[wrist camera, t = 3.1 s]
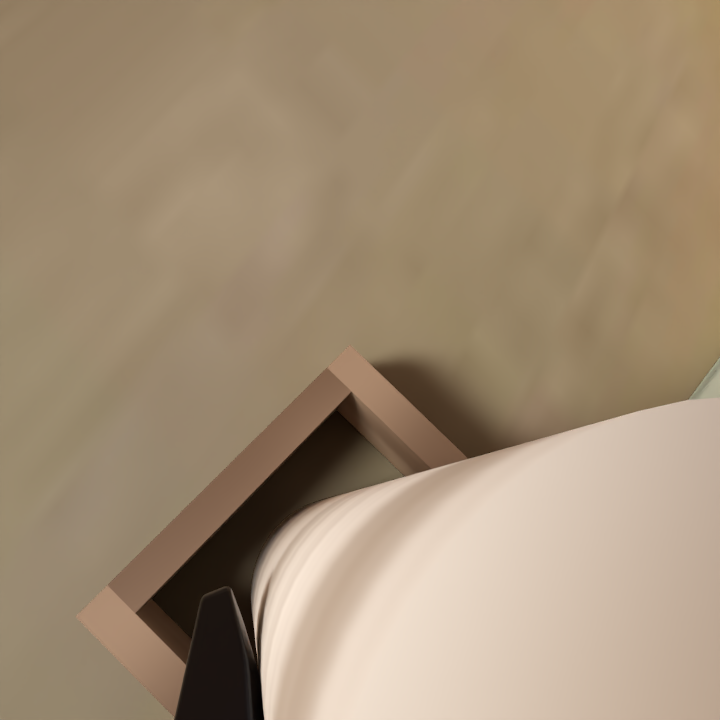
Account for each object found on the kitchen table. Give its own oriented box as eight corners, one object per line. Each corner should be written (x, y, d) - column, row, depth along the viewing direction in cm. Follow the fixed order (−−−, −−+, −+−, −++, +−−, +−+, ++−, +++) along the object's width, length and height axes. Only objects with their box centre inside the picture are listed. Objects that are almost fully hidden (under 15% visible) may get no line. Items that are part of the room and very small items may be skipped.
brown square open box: (550, 577, 17) (600, 586, 15) (347, 850, 15) (367, 913, 12) (335, 369, 17) (350, 344, 15) (102, 601, 15) (75, 616, 13)
